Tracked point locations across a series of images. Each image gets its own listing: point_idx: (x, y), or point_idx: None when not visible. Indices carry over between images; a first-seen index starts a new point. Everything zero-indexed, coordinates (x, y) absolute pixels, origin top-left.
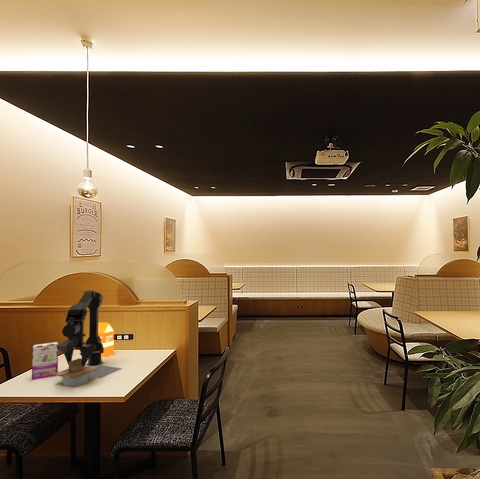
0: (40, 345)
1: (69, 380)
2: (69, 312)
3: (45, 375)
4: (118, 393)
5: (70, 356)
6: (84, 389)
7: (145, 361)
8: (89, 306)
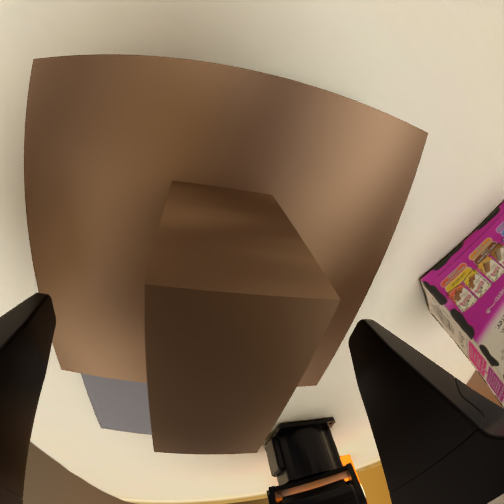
0: None
1: None
2: None
3: (477, 246)
4: None
5: (399, 434)
6: (10, 97)
7: (102, 466)
8: None
